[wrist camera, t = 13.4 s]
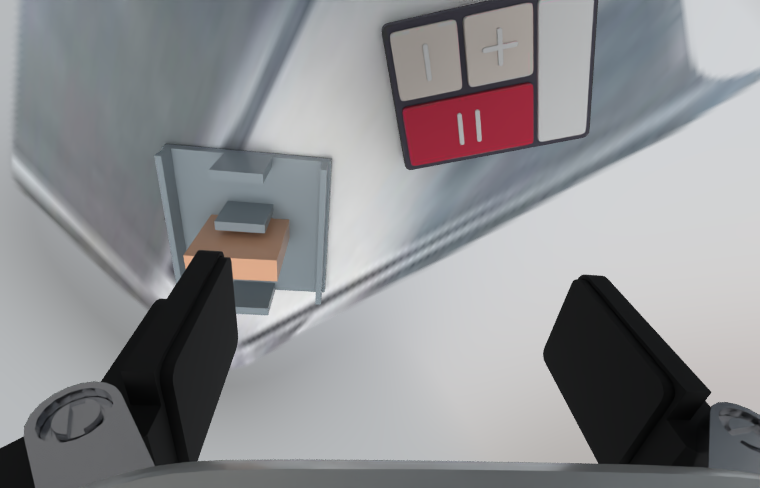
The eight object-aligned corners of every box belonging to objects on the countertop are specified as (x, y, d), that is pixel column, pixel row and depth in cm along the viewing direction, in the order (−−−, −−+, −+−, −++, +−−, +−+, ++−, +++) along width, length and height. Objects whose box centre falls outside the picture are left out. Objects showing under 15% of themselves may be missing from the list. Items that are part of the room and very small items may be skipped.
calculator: (380, 27, 28) (606, -24, 27) (380, 24, 32) (578, -21, 30) (406, 174, 34) (594, 139, 32) (403, 157, 37) (572, 125, 36)
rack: (166, 143, 35) (139, 164, 30) (331, 158, 36) (328, 179, 32) (187, 278, 42) (167, 310, 37) (325, 286, 43) (321, 318, 39)
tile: (211, 214, 37) (183, 255, 31) (289, 219, 38) (276, 260, 32) (213, 233, 38) (186, 276, 32) (289, 238, 39) (277, 281, 33)
